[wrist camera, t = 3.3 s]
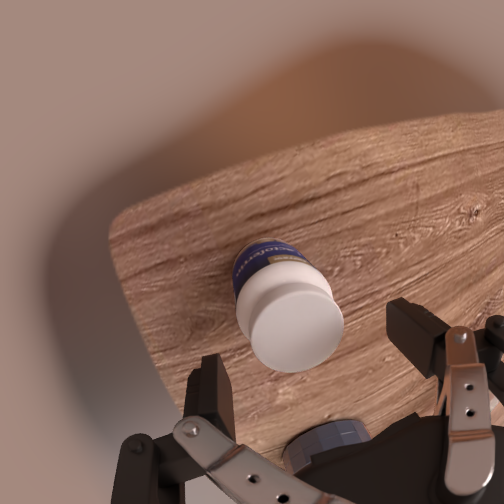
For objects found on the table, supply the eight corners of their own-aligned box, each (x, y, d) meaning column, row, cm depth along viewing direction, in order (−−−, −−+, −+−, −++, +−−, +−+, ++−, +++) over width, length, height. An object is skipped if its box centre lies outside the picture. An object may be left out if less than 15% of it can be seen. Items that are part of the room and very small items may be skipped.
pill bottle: (286, 224, 21) (337, 259, 12) (310, 285, 23) (364, 350, 13) (219, 255, 21) (218, 314, 12) (249, 314, 23) (267, 396, 13)
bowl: (273, 469, 30) (279, 495, 25) (295, 421, 27) (306, 453, 22) (346, 460, 32) (356, 482, 27) (378, 412, 29) (394, 436, 24)
